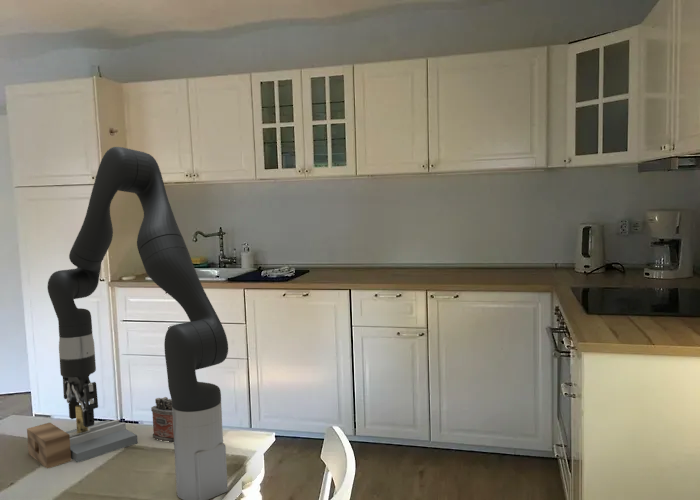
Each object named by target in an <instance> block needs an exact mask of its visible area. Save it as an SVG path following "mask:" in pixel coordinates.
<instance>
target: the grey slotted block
mask: <svg viewBox="0 0 700 500" xmlns="http://www.w3.org/2000/svg"><path fill="white" fill-rule="evenodd" d="M88 429H90V430H91V432H89V433H86V434H83V435H79V436H76V437H72V438H70V450H71V460H73V461H74V462H75V463H80V462H83V461H86V460H90V459H93V458H96V457H99V456H103V455H106V454H108V453H111V452H114V451H117V450H120V449H123V448H127V447H129V446H133V445H136V444H139V443H138V435H137V434H136V433H135V432H132V431H130V430H128V429H127V426H126V422H121V423H120V419H114V420H109V419H107V420H102V421H100V422H94V425H93V426H89V427H88ZM76 431H77V428H74V429H72V430H68V431H65V432H66V433H68V434H69V433H72V432H76Z"/></svg>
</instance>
